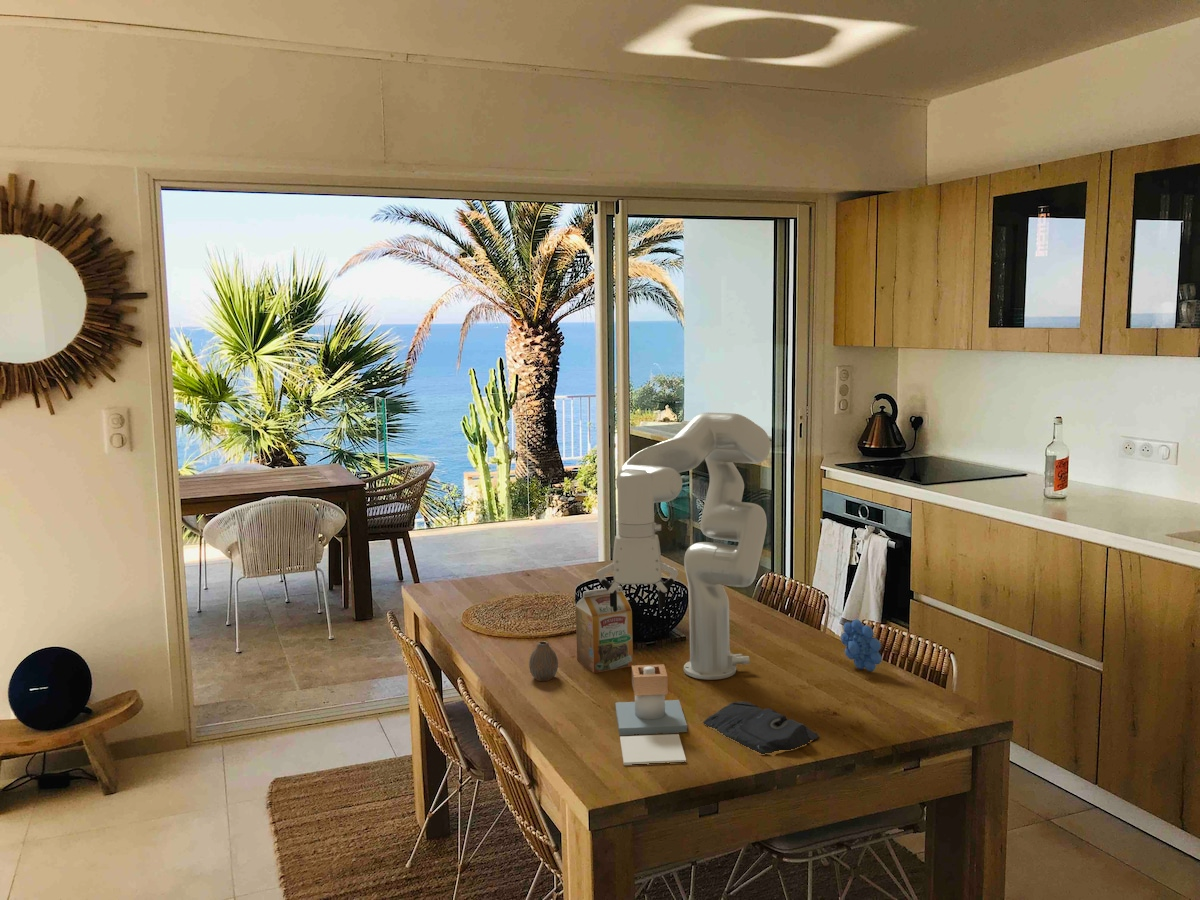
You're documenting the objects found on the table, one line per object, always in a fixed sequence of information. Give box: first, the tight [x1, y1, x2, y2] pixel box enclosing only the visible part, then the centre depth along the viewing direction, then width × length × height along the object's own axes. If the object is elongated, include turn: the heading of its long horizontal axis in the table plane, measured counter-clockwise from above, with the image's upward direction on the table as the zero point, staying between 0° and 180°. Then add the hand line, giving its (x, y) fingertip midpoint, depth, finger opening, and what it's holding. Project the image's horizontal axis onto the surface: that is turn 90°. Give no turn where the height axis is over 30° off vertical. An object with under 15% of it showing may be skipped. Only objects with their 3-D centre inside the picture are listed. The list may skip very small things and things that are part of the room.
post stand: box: [614, 666, 688, 736], centre depth 211 cm, size 14×14×12 cm
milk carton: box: [575, 585, 634, 674], centre depth 246 cm, size 11×11×19 cm
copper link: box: [631, 663, 669, 697], centre depth 210 cm, size 7×7×4 cm
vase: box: [528, 640, 559, 682], centre depth 238 cm, size 7×7×9 cm
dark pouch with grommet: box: [702, 700, 820, 754], centre depth 204 cm, size 15×22×5 cm
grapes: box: [840, 618, 883, 672], centre depth 237 cm, size 12×7×12 cm, turn 37°
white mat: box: [619, 733, 687, 766], centre depth 196 cm, size 12×12×1 cm
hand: (637, 609), depth 210 cm, fingers open, 9 cm apart
